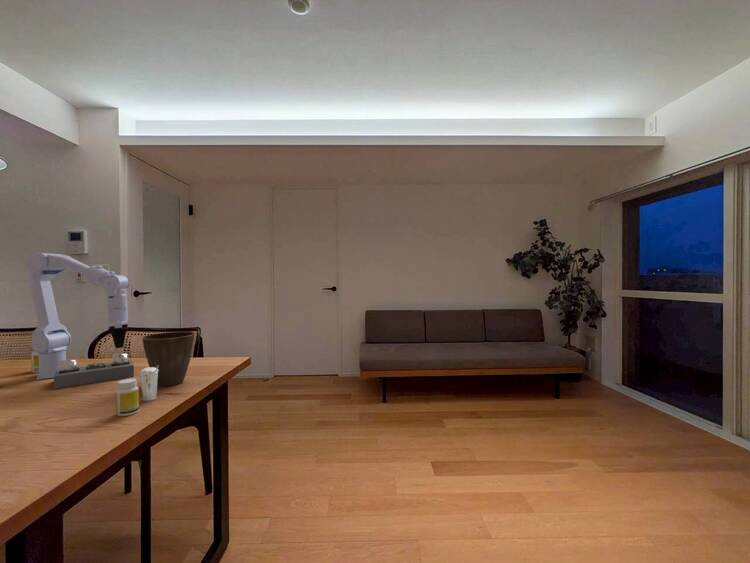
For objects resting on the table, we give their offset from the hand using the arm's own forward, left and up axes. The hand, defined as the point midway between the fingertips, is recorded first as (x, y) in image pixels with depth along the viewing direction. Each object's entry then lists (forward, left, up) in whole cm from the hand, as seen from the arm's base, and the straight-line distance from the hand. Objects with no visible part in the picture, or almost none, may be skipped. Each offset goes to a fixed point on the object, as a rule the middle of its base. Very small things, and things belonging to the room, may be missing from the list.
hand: (119, 346), depth 126 cm
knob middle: (-1, -7, -10) cm, 12 cm away
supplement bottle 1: (-28, -23, -11) cm, 38 cm away
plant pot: (+22, +12, -11) cm, 27 cm away
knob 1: (-1, -14, -7) cm, 16 cm away
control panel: (-1, -7, -11) cm, 13 cm away
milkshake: (+36, +5, -11) cm, 38 cm away
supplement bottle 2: (+44, -1, -11) cm, 45 cm away
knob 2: (-1, 0, -7) cm, 7 cm away
